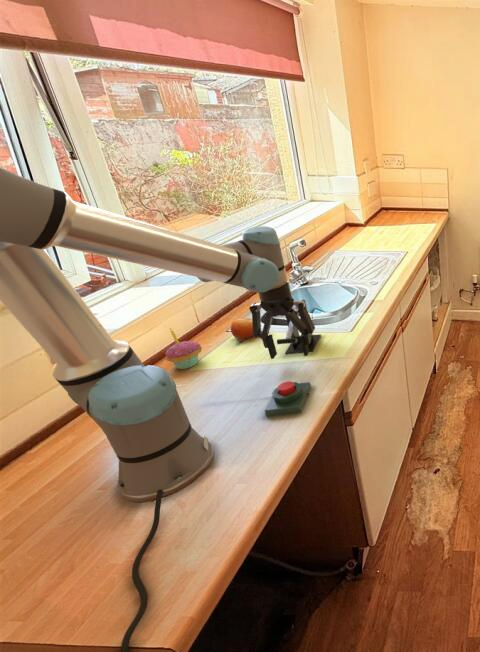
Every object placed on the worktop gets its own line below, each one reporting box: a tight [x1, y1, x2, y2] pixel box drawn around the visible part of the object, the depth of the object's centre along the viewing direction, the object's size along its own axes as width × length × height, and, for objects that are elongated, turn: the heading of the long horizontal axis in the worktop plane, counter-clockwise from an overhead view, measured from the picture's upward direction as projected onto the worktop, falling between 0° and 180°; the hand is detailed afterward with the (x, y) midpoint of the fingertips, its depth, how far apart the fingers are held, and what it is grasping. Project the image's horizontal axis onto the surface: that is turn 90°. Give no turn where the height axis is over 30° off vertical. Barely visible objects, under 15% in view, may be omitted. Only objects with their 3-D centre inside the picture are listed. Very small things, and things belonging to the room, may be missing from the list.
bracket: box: [284, 306, 322, 355], centre depth 126 cm, size 10×8×15 cm
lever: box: [276, 305, 300, 345], centre depth 120 cm, size 14×5×2 cm, turn 11°
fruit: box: [230, 317, 254, 344], centre depth 132 cm, size 8×8×8 cm
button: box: [277, 380, 295, 395], centre depth 103 cm, size 4×4×2 cm
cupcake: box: [164, 327, 203, 370], centre depth 117 cm, size 9×8×12 cm
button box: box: [264, 381, 312, 418], centre depth 104 cm, size 10×8×4 cm
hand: (290, 354), depth 117 cm, fingers open, 8 cm apart
